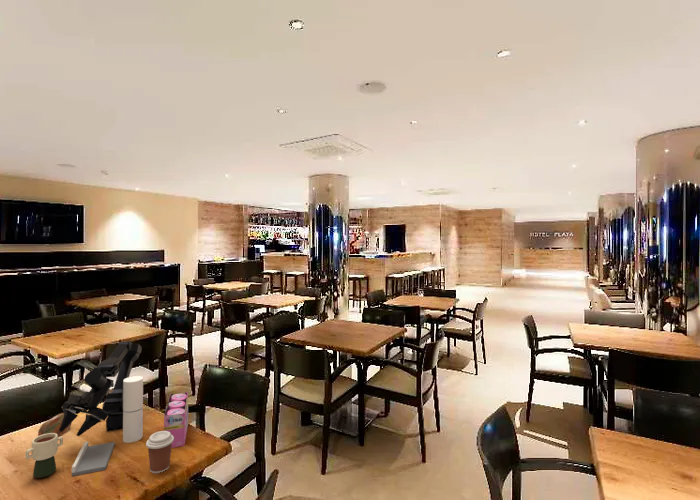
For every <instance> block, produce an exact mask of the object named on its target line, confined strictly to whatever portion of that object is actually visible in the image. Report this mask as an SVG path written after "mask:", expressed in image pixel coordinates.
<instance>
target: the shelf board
mask: <svg viewBox="0 0 700 500" xmlns="http://www.w3.org/2000/svg"><path fill="white" fill-rule="evenodd" d="M115 445H116V442H115V441H112V442H105V443H99V444H94V445H89V440H88V441H85V442H84V443H83V445H82V447H81V448H80V450H79V452H78V454H77V456H76V458H75V461H74V462H73V464H72V466H71V477H75V476H80V475H85V474H92V473H96V472H101V471H106V469H107V467H108V464H109V462H110V459H111V456H112V453H113V450H114V448H115Z"/></svg>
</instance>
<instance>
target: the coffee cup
mask: <svg viewBox="0 0 700 500" xmlns="http://www.w3.org/2000/svg"><path fill="white" fill-rule="evenodd" d="M148 438H149V439H147V441H146V442H145V445H146V448H147V450H148V461H149V471H150V473H151V472H152V473H151V474H161V473H163V471H164V472H166V471H167V470H168V469H170V466H171V465H170V464H171V456H172V455H171V453H172V448H171V446H172V442H173V441H174V437H173V435H171V433H170V432H168V431H164V430H161V431H159V430H158V431H155V432H154V433H152V434H150V436H149V437H148ZM165 470H166V471H165ZM160 472H161V473H160Z"/></svg>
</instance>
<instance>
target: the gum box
mask: <svg viewBox="0 0 700 500" xmlns="http://www.w3.org/2000/svg"><path fill="white" fill-rule="evenodd" d="M163 416H164V417H163V431H168V432H170V433H171V435H173V437H174V441H173V442H172V446H171V449H172V448H177V447H178V448H179V447H184V446H185V445H186V444H185V443H186V439H187V432H188V427H189V426H188V425H189V392H187V391H186V392H184V393H176V394H174V393H170V395H169V397H168V402H167V404H166V409H165V412H164V415H163Z"/></svg>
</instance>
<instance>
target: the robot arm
mask: <svg viewBox="0 0 700 500" xmlns="http://www.w3.org/2000/svg"><path fill="white" fill-rule="evenodd" d="M141 353H142V345H140V344H139V343H134V342H131V341H119V342H118V343H117V347H115V349H114V350H113V352H112V353H111V354H110V355H109V357H108V358H106V359H104V360H102V361H101V362H100V363H99V364H97V366H96V367H93V369H92V370H91V371H89V372H88V373H86V375H85V376H84V382H85V383H86V384H87V385H88V386H89V387H90V388H91V389H90V390H89V391H85V392H83V393H82V394H78V393H70V394H69V397H68V398H67V401H64V403H63V404H62V405H61V407H60V408H61V409H62V412H63V413H64V418H63V421H62V424H61V426H60V429H59V431H60V432H62V431H63V430H64V429H65V428H66V427H67V426H68V425H69V424H70V423H71V422H72V423H73V422H74V421H75V419H77V418H78V417H79V415H78V414H80V413H82V414H83V413H84V414H85V419H84V421H83V423H82V424H81V426H80V428H79V429H78V431H77V433H76V436H77V437H80V436H81V435H83V434H84V433H85V432H87V431H88V430H90V429H91V428H92V427H94V426H96V425H97V424H99V423H102V421H105V429H106V432H113V431H119V430H123V380H124V379H126V378H128V377H130V375H131V371H132V368H133V365H134V363H135V362H136V361H137V360H138V359H139V358H140V357H139V356H140V354H141ZM120 363H121V364H120ZM114 377H115V378H116V379H115V383H114V380H113V379H111V378H114ZM111 388H112V391H111V392H110V393H109V390H110V389H111ZM100 403H103V404H102V406H101V407H98V406H99V405H100Z"/></svg>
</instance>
